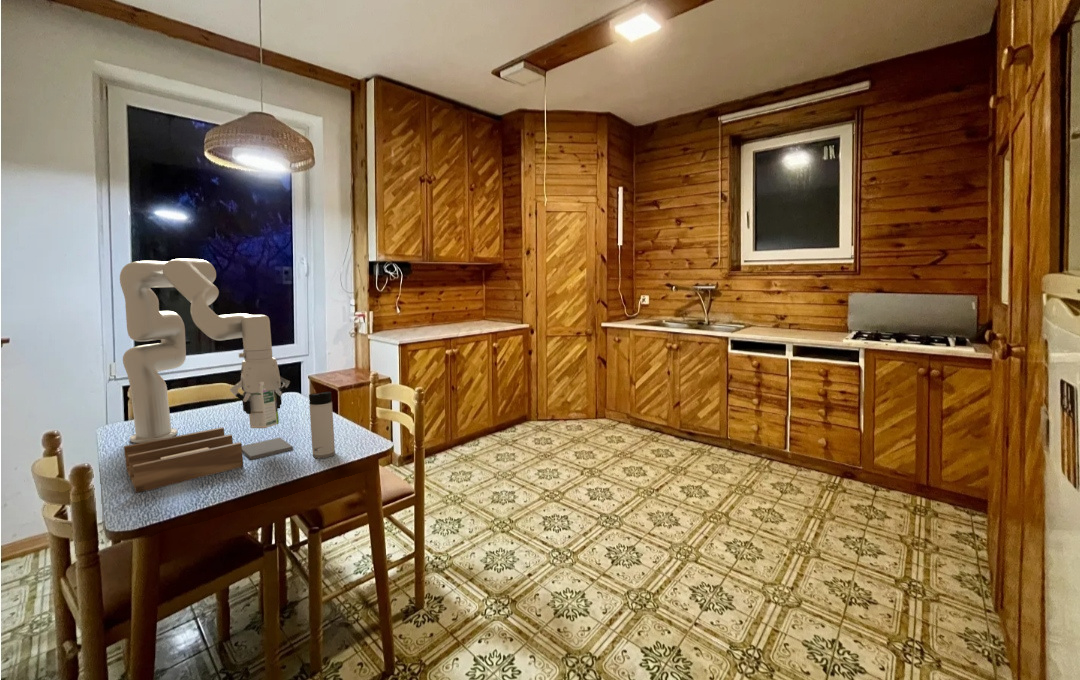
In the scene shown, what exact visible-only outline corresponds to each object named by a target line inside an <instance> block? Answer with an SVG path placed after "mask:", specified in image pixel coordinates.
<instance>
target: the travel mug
mask: <svg viewBox="0 0 1080 680" xmlns="http://www.w3.org/2000/svg"><path fill="white" fill-rule="evenodd" d="M308 399H309V400H308V401H309V402H308V403H309V406H308V407H309V417H310V418H309V419H310V433H311V448H312V457H313V458H314V459H321V460H322V459H327V458H331V457H333V456H334V455H335V454H336V448H335V447H336V446H335V430H334V429H335V427H334V415H333V414H334V413H333V412H334V411H333V401H332V400H333V399H332V392H331V391H323V392H319V393H317V392H316V393H315V392H314V393H310V394H308Z"/></svg>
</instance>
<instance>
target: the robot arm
mask: <svg viewBox="0 0 1080 680" xmlns="http://www.w3.org/2000/svg"><path fill="white" fill-rule="evenodd" d="M216 278H217V271H216V269H215V267H214V265H213V264H212V263H211V262H209V261H207V260H204V259H201V258H200V259H199V258H175V259H171V260H168V261H161V260H140V261H139V260H137V261H132V262H129V263H127V264H125V265H124V266H123V267H122V268H121V271H120V274H119V283H120V288H121V290H122V293H123V296H124V302H125V307H124V308H125V320H126V322H125V323H126V330H127V331H126V332H127V335H128V337H129V338H130V339H131V340H132V341H135V342H150V341H157V340H158V341H159V340H160V343H159V342H157V343H150V344H142V345H136V346H134V347H130V348H129V349H127V350H126V351H125V352H124V353H123V356H122V364H123V367H124V370H125V373H126V374H127V379H128V383H129V389H130V397H131V404H132V412H133V413H132V414H133V420H134V421H133V422H134V430H135V431H134V432H135V434H132V435H131V436H130V437H129V440H130V442H131V443H133V444H138V443H143V442H148V441H154V440H159V439H164V438H169V437H174V436H177V434H178V430H177V428H172V423H171V415H170V414H171V412H170V406H169V405H170V404H169V395H168V387H167V386H168V385H167V384H166V383H167V382H166V381H165V380H164V378H163V377H162V376H161V375H160V374H159V372H163V371H169V370H173V369H176V368H177V369H178V368H180V367H182V366H183V365H184V364H185V361H186V356H187V351H186V349H187V347H186V346H187V345H186V328H185V323H184V321H183V319H182V317H181V316H180V314H178V313H177V312H175V311H172V310H160V302H159V301H160V300H159V298H158V295H156V293H155V292H154V291H153V290H152V289H151V288H153V289H154V288H175V289H176V290H177V291H178V292H179V293H180V294H181V295H182V296H183V297H184V298H186V300H187V301H188V302H190V303H191V304H190V315H191V319H192V321H193V323H194V324H195V326H196V327H197V328H198V329H199V330H201V332H202V333H203V334H205V335H206V336H207V337H209V338H210V339H212V340H214V341H226V340H233V339H234V340H235V339H241V338H242V343H243V344H242V345H243V350H242V352H240V353H238V358H239V359H240V358H242V359H243V360H242V361H241V368H240V369H241V370H240V374H241V375H240V381H238V382H237V383H236V384H234V385H233V386H232V387H231V388H230V389H229V391H230V392H231V393H232V395H234V396H235V397H236V398H238V399H240V400H241V402H242V410H243V412H244V413H246V414H247V415H249V414H250V413H251V410H250V401H248V399H249V397H250V395H251V394H253V393H258V392H259V382H264V386H265V389H266V391H273V390H274V391H275V392H276V398H277V408H278V410H279V409H281V406H282V396H283V393H284V392H285V391H286V390H287V388H288V387H289V386H290V384H291V381H290V380H288V379H286V378H284V377H282V376H281V375H280V370H279V363H278V361H277V359H276V358H275V357H273V347H272V345H273V344H272V333H271V321H270V318H269V316H267V315H265V314H249V313H230V314H220V315H218V313H217V314H216V313H215V311H214V310H213V309H211V307H210V305H211V304H213V303H215V301H216V300H217V298H218V297H219V295H220V294H219V293H220V291H219V289H218V287H217V286H216V285H215V284H214V282H215V280H216ZM281 383H282V384H281ZM239 389H241V390H242V391H243V393H242V394H241V393H240V392H239V391H238V390H239Z"/></svg>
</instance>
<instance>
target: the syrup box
mask: <svg viewBox="0 0 1080 680" xmlns="http://www.w3.org/2000/svg"><path fill="white" fill-rule="evenodd" d="M248 401H250V410H251V413H250V414H248V417H249V426H250V429H267V428H270V427H274V426H276V425H279V423H280V420H279V409H278V408H277V398H276V392H275V391H274V390H273V391H266V389H265V386H264V382H259V392H258V393H253V394H251V395H250V397H249V399H248Z"/></svg>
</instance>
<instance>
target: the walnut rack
mask: <svg viewBox="0 0 1080 680" xmlns="http://www.w3.org/2000/svg"><path fill="white" fill-rule="evenodd" d="M233 439H234V438H233V435H232V434H226V435H225V428H224V427H223V426H222V427H218V428H212V429H207V430H201V431H196V432H190V433H185V434H181V435H175V436H173V437H169V438H164V439H159V440H154V441H148V442H143V443H133V444H129V445H124V446H123V450H124V451H123V453H124V458H125V459H124V460H125V466H126V467H125V468H126V469H125V470H126V472H127V474H128V476H129V479H130V480H131V484H132V486H133V489H134V488H135V489H134V491H135V493H136V492H139V493H142V492H141V491H143V492H146V490H147V491H152V490H154V489H159V488H163V487H168V486H172V485H176V484H179V483H183V482H187V481H192V480H195V478H196V479H200V478H204V477H207V476H211V475H215V474H220V473H223V472H228V471H231V470H236V469H239V468H243V467H244V458H243V457H244V456H243V453H242V446H243V444H242V442H240V441H238V442H234V441H233ZM206 447H208V448H209V449H206V450H201V451H196V452H192V453H187V454H182V455H178V456H173V457H168V458H164V459H160V458H161V457H165V456H170V455H175V454H179V453H184V452H188V451H193V450H197V449H202V448H206ZM203 476H204V477H203ZM199 477H200V478H199ZM191 479H192V480H191Z"/></svg>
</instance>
